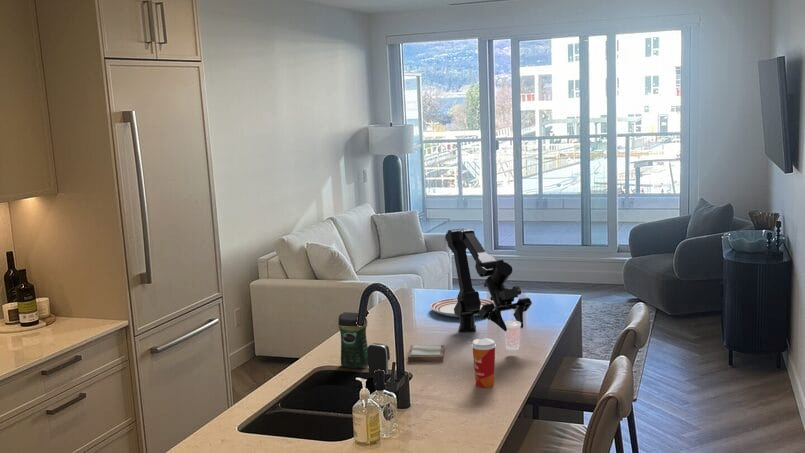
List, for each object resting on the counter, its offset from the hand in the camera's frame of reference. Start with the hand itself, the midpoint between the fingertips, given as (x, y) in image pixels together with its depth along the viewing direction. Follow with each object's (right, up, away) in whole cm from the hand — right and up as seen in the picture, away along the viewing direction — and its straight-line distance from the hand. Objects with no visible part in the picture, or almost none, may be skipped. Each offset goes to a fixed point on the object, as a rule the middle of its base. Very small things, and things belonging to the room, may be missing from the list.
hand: (514, 329), depth 268 cm
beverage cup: (0, -7, +3) cm, 7 cm away
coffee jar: (-55, -12, 0) cm, 56 cm away
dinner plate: (-13, -1, +59) cm, 60 cm away
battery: (-46, -14, -12) cm, 49 cm away
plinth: (-30, -10, +6) cm, 32 cm away
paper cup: (-13, -14, -23) cm, 30 cm away
